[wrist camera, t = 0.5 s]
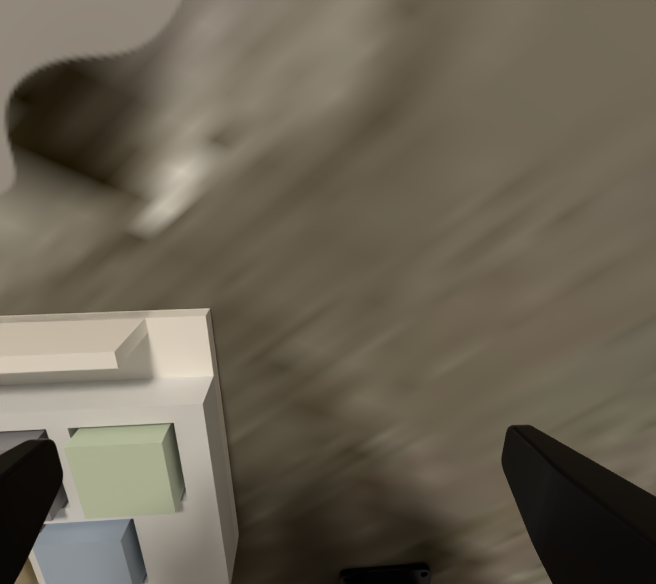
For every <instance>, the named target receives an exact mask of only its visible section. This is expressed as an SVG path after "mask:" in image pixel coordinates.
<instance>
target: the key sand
mask: <svg viewBox="0 0 656 584" xmlns="http://www.w3.org/2000/svg"><path fill="white" fill-rule="evenodd" d="M37 583H38V580H37V577H36V574H35V572H34V569H33V567H32V564H31V562H30V559H29V557H28V559H27V561H26V563H25V565H24V567H23V569H22V571H21V572H20V574H19V576H18V578H17V580H16V582H15V583H14V584H37Z"/></svg>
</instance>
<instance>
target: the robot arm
mask: <svg viewBox="0 0 656 584" xmlns="http://www.w3.org/2000/svg"><path fill="white" fill-rule="evenodd" d="M502 467H503V471H504V473H505V476H506V478H507V481H508V483H509V486H510V488H511V491H512V493H513V496H514V498H515V501H516V504H517V506H518V509H519V511H520V514H521V516H522V519H523V521H524V524H525V526H526V529H527V531H528V534H529V536H530V538H531V541H532V543H533V545H534V548H535V550H536V552H537V554H538V556H539V558H540V560H541V562H542V564H543V566H544V568H545V570H546V572H547V574H548V576H549V578H550V580H551V581H552V583H553V584H656V497H655V496H654V495H652V494H650V493H648V492H647V491H645V490H643V489H641V488H640V487H638V486H636V485H634V484H633V483H631V482H629V481H627V480H626V479H624V478H622V477H620V476H619V475H617V474H615V473H613V472H612V471H610V470H608V469H606V468H605V467H603V466H601V465H599V464H598V463H596V462H594V461H592V460H591V459H589V458H587V457H585V456H584V455H582V454H580V453H578V452H577V451H575V450H573V449H571V448H570V447H568V446H566V445H564V444H563V443H561V442H559V441H557V440H555V439H554V438H552V437H550V436H548V435H547V434H545V433H543V432H541V431H540V430H538V429H536V428H534V427H533V426H531V425H511V426H510V427H508V429H507V432H506V436H505V442H504V447H503V452H502ZM62 481H63V469H62V465H61V462H60V458H59V454H58V450H57V447H56V444H55V442H54V441H53V440H51V439H30V440H27V441H24V442H23V443H21V444H19V445H17V446H15V447H13V448H11V449H10V450H8V451H6V452H4V453H2V454H0V584H14V583H15V582H16V580H17V578H18V576H19V574H20V572H21V571H22V569H23V567H24V565H25V563H26V561H27V559H28V557H29V555H30V552H31V550H32V548H33V546H34V544H35V542H36V539H37V537H38V535H39V533H40V531H41V529H42V526H43V524H44V522H45V520H46V518H47V516H48V513H49V511H50V509H51V507H52V505H53V503H54V500H55V498H56V496H57V494H58V492H59V490H60V487H61V485H62ZM430 579H431V571H430V568H429V566H428V565H426V564H416V565H401V566H387V567H373V568H358V569H346V570H343V571H341V572H340V584H430Z"/></svg>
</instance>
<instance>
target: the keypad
mask: <svg viewBox="0 0 656 584" xmlns="http://www.w3.org/2000/svg"><path fill="white" fill-rule="evenodd" d="M160 423H174V427H175V432H176V438H177V443H178V449H179V454H180V460H181V465H182V471H183V476H184V482H185V488H184V491H183V494H182V497H181V499H180V502H179V505H178V508H177V511H176V513H174V514H158V515H142V516H125V517H109V518H93V519H85V516H84V513H83V509H82V506H81V503H80V500H79V496H78V493H77V490H76V486H75V483H74V480H73V477H72V473H71V470H70V467H69V463H68V460H67V457H66V454H65V450H64V447H65V445H66V444H67V443H68V442H69V440H70V439H71V438H72V437H73V435H74V434H75V433H76V432H77V430H78V429H79V428H80V427H100V426H120V425H140V424H160ZM41 429H46V431H47V434H48V437H49V439H51V440H53V441H54V442H55V444H56V447H57V450H58V454H59V458H60V462H61V465H62V469H63V481H62V482H63V485H64V488H65V491H66V494H67V497H68V498H67V499H66V501H65V502H64V504H63V505H62V507H61V508H60V510H59V511H58V513H57V514H56V516H55V517H54V519H53V520H52V521H45V522H44V524H43V526H42V529H41V531H40V533H41V532H42V530H43V529H44V527H45V526H46V524H53V523H70V522H86V521H102V520H118V519H134V523H135V527H136V531H137V535H138V539H139V543H140V547H141V551H142V555H143V559H144V563H145V568H146V573H145V576H144V579H143V581H142V584H231V580H232V574H233V568H234V562H235V556H236V550H237V544H238V538H239V532H238V524H237V516H236V508H235V500H234V492H233V485H232V477H231V469H230V461H229V453H228V445H227V438H226V430H225V422H224V414H223V406H222V398H221V391H220V383H219V375H218V367H217V359H216V351H215V344H214V336H213V328H212V320H211V312H210V308H203V309H175V310H148V311H121V312H93V313H66V314H38V315H11V316H0V432H1V431H21V430H41ZM40 533H39V535H40ZM39 535H38V536H39ZM29 559H30V562H31V564H32V567H33V569H34V572H35V574H36V577H37V580H38V583H37V584H46V583H45V580H44V577H43V575H42V572H41V570H40V567H39V564H38V562H37V559H36V556H35V554H34V551H33V548H32V550H31V552H30V555H29Z"/></svg>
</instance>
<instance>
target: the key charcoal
mask: <svg viewBox="0 0 656 584" xmlns="http://www.w3.org/2000/svg"><path fill="white" fill-rule="evenodd" d="M30 439H49V437H48V434H47V431H46V429H41V430H21V431H1V432H0V454H2V453H4V452H6V451H8V450H10V449H11V448H13V447H15V446H17V445H19V444H21V443H23V442H24V441H27V440H30ZM67 498H68V497H67V494H66V491H65V488H64V485H63V482H62V485H61V487H60V490H59V492H58V494H57V496H56V498H55V500H54V503H53V505H52V507H51V509H50V511H49V513H48V516H47V518H46V520H45V521H52V520H53V519H54V517H55V516H56V514H57V513H58V511H59V510H60V508H61V507H62V505H63V504H64V502H65V501H66V499H67Z"/></svg>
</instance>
